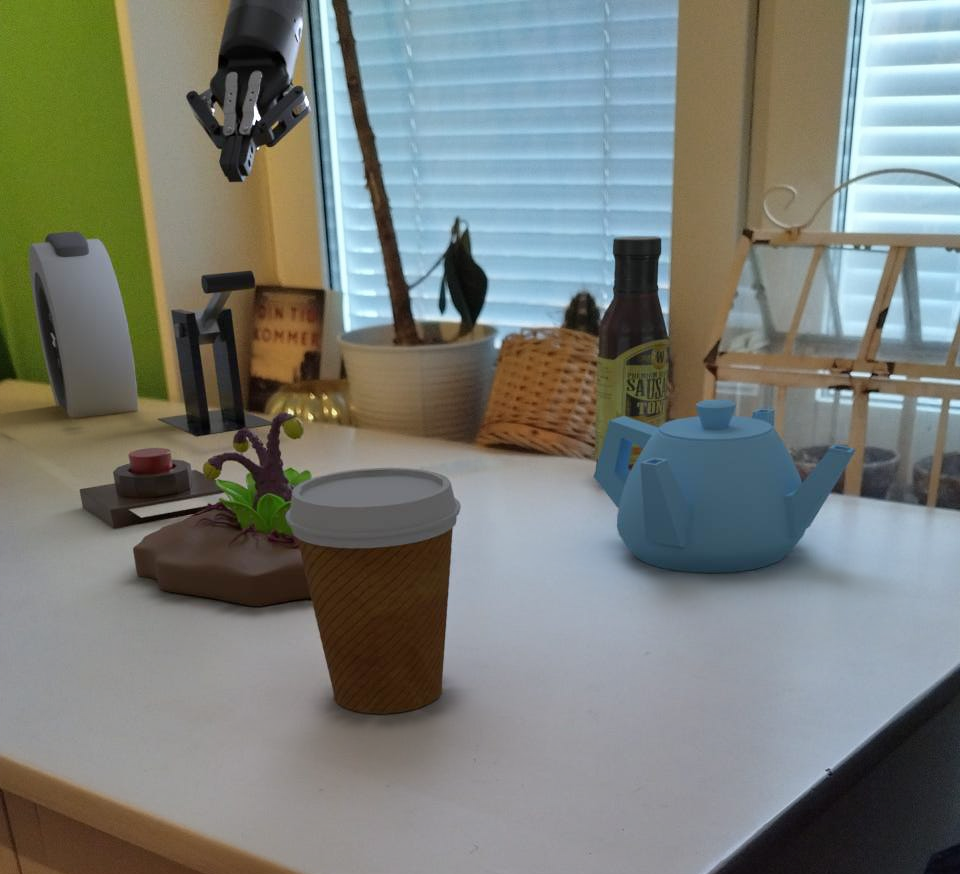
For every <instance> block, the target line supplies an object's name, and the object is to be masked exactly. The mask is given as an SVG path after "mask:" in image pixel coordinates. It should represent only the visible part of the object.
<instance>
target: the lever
mask: <svg viewBox="0 0 960 874" xmlns="http://www.w3.org/2000/svg"><path fill="white" fill-rule="evenodd" d="M200 282H201V283H200V284H201V288H202V291H203V293H204V294H206V295H208V294H209V295H210V294H212V295H211V298H210V300H209V301H208V302H207V305H206V307H205V309H204V310H197V311H192V312H193V313H195V317H196V324H197V332H198V339H199V346H202V345H203V346H204V345H212V343H214V341H215V340H216V338H217V336H218V334H219V333H220V330H219V327H218V324H217V321H216V319H217V318H218V316H219V314H220V312H221V310H222V308H223V307H225V305H226V303H227V301H228V299H229V297H231V294H232V292H237V291H245V290H247V291H248V290H254V289H255V287H256V278H255V274H254V272H253V271H252V270H242V271H240V270H239V271H231V272H221V273H211V274H203V275H201V279H200Z"/></svg>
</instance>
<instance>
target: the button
mask: <svg viewBox="0 0 960 874" xmlns="http://www.w3.org/2000/svg"><path fill="white" fill-rule="evenodd" d="M172 459H173V458H172V452H171V450H170V449H169V448H165V447H148V448H147V447H145V448H141V449H136V450H133V451H130V452H128V461H129V463H130V467H131V473H138V474H145V473H158V472H164V471H168V470H171V469H173V465H172Z"/></svg>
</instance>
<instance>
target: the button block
mask: <svg viewBox="0 0 960 874" xmlns="http://www.w3.org/2000/svg"><path fill="white" fill-rule="evenodd" d="M172 465H173V469H171V470H168V471H164V472H158V473H145V474H138V473H131V467H130V462H129V463H126V464H122V465H120V466H118V467H116V468H115V470H113V471H112V475H113V481H114V482H113V483H107V484H102V485H96V486H89V487H83V488H80V489H79V494H80V501H81V505H82V506H81V507H82V508H83V510H86V511H87V512H88V513H90V514H91V515H93V516H94V517H96V518H97V519H99V520H100V521H102V522H103V523H104V524H106V525H108V526H109V527H110V528H112V529H114V530H116V529H122V528H126V527H133V526H138V525H143V524H148V523H154V522H159V521H164V520H170V519H175V518H181V517H186V516H192V515H194V514H196V513H198V511H199V512H200V511H203V510H204V509H206V508H207V505H203V506H201V507H202V508H204V509H202V508H199V507H200V506H197V507H193V508H187V509H180V510H176V511H169V512H165V513H158V514H154V515H148V516H143V517H142V516H139V515H138V514H136V513H135V512H133V511H132V510H133V509H139V508H145V507H150V506H154V505H155V506H156V505H162V504H166V503H173V502H179V501H184V500H191V499H196V498H201V497H206V496H213V495H217V494H218V495H219V494H225V492H224V491H223V490H222V489H221V488H220V487H218V486H217V485H216V480H217V479H205V475H204V473H203V472H201V471H198V470H197V469H192V465H191V463H189V462H187V461H186V460H182V459H173V458H172ZM215 504H216V503H215ZM215 504H211V505H212V506H215ZM209 506H210V505H209Z"/></svg>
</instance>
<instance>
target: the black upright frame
mask: <svg viewBox="0 0 960 874" xmlns="http://www.w3.org/2000/svg"><path fill="white" fill-rule="evenodd" d="M170 310H171V311H170V312H171V319H172V320H171V321H172V325H173V333H174V339H175V345H176V354H177V360H178V366H179V367H178V368H179V375H180V381H181V388H182V394H183V395H182V396H183V401H184V408H185V414H181V415H173V416H168V417H166V416H165V417H160V418H157V420H158V421H160V422H162V423H165V424H167V425H170V426H172V427H174V428H177V429H178V430H181V431H183V432H185V433H188V434H190V435H192V436H195V437H202V436H203V437H204V436H210V435H216V434H223V433H228V432H235V431H239V430H241V429H243V428H248V429H254V428H261V427H267V426H271V424H272V423H273V422H272V421H271V420H268V419H265V418H263V417H260V416H257V415H255V414H252V413H250V412H246V411H245V410H244V401H243V400H244V399H243V394H242V385H241V378H240V368H239V362H238V361H239V360H238V354H237V344H236V337H235V336H236V335H235V329H234V321H233V312H232V309H231V308H230V307H225V306H224V307H223V308H222V310H221V312H220V314H219V316H218V318H217V319H216V321H217V324H218V327H219V330H220V333H219V334H218V336H217V338H216V340H215V341H214V343H212V344H211V346H212V353H213V361H214V369H215V376H216V383H217V391H218V399H219V407H220V409H214V410H209V405H208V399H207V398H208V397H207V392H206V391H207V390H206V384H205V378H204V377H205V376H204V369H203V361H202V355H201V345H199V339H198V332H197V324H196V317H195V313H193V312H194V311H190V310H189V311H188V310H185V309H179V308H177V309H170Z"/></svg>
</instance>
